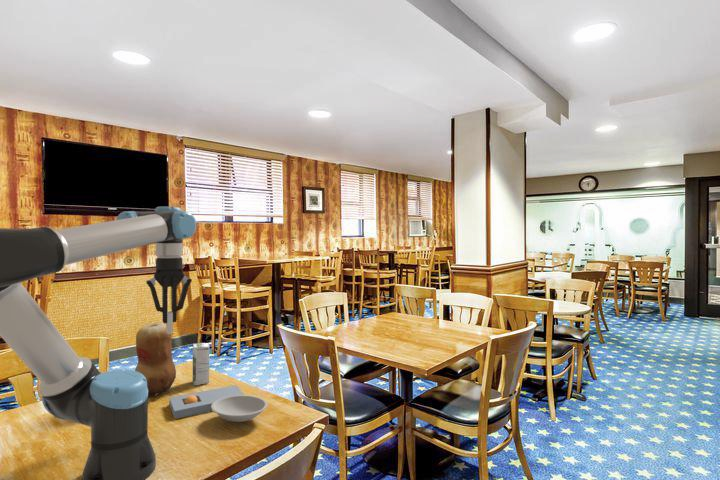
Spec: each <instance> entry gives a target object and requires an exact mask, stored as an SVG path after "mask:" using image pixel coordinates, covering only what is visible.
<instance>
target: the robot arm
mask: <svg viewBox="0 0 720 480" xmlns="http://www.w3.org/2000/svg"><path fill="white" fill-rule="evenodd" d="M196 221H197V220H196V218H195V216H194V215H193V214H192V213H190V212H189V211H185V210H184V211H183V210H182V209H181V208H180V207H178V206H157V207H155V210H154V211H135V210H131V211H129V210H128V211H125V210H124V211H122V212H120V213H119V214H118V215H117V217H116V220H110V221H103V222H97V223H91V224H87V225H86V224H85V225H79V226H78V225H77V226H72V227H66V228H65V227H64V228H60V229H53V228H52V227H50V226H40V227H34V228H2V227H1V228H0V338H2V340H3V341H4V342H5V343H6V344H7V346H8V347H10V349H12V351H13V352H14V353H15V354H16V355H17V357H18V358H19V359H20V360H21V361H22V362H23V363H24V365H25V366H26V367H27V368H28V369H29V370H30V371H31V373H32V374H34V376H35V377H36V378H37V379H38V380H39V382H40V384H39V386H38V393H39V394H40V395H41V401H42V405H43V408H44V409H45V410H46V411H47V412H48V413H49V414H50V415H52V416H53V417H54V418H57V419H60V420H65V421H70V422H73V423H76V424H80V425H84V426H88V427H90V442H91V443H90V450H89V453H88V456H87V459H86V461H85V465H84V468H83V470H82V477H81V479H82V480H146V479H147V478H149V477H150V475H152V473H153V472H154V471H155V469H156V465H157V462H156V461H157V460H156V458H157V457H156V453H155V450H154V448H153V446H152V442H151V440H150V438H149V435H148V431H149V430H148V426H149V425H148V423H149V422H148V420H149V419H148V418H149V417H148V414H149V413H148V412H149V411H148V410H149V408H148V407H149V401H148V400H149V395H148V388H147V380H146V378H145V376H144V375H143V374H141V373H139V372H137V371H135V370H133V369H124V370H122V369H114V370H108V371H105V372H100V370H99V369H98V368H97V366H96V365H95V364H94V362H93V361H92V360H91V359H90V358H89V357H86V356H78V355H77V353H76V352H75V351H74V349H73V348H72V346H71V345H70V344H69V342H68V341H67V340H66V338H64V337H63V335H62V333H61V332H60V331H59V330H58V328H57V327H56V325H54V324H53V322H52V321H51V320H50V318H49V317H48V316H47V315H46V313H45V312H44V311H43V309H42V308H41V307H40V305H39V304H38V303H37V301H36V300H35V299H34V298H33V296H32V295H31V293H30V292H29V291H28V290H27V289H26V287H25V286H24V285H23V282H26V281H30V280H34V279H36V278H41V277H44V276H48V275H51V274H55V273H59V272H61V271H63V269H64V268H65V266H68V265H71V264H75V263H76V264H77V263H79V262H83V261H88V260H92V259H96V258H99V257H103V256H108V255H112V254H116V253H120V252H125V251H128V250H133V249H136V248H141V247H144V246H145V247H146V246H149V245H153V244H155V256H156V258H155V271H154V272H155V273H154V274H153V277H152V278H150V279H147V280H146V281H145V282H146V285H148V287H149V289H150V293H151V297H152V299H153V303H154V308H155V310H156V311H157V312H159V313H162V323H164V324H166V332H167V334H171V335H173V334H174V328H173V327H174V323H176V322H177V317H178V316H177V313H178V311H180V310H183V309H184V305H185V302H186V296H187V293H188V289H189V286H190V284H191V283H192V281H193V280H192V279H191V278H189V277H188V276H185V273H184V270H183V265H184V264H183V261H184V260H183V258H182V256H183V240H184V239H185V240H186V239H189V238H191V237H193V236H194V234H195V233H196V230H197V222H196ZM156 282H157V283H158V285H160V286H161V290H162V291H161V302H162V303H161V304H160V300H159V297H158V293H157V289H156V287H155V286H156ZM181 282H182V283H183V284H182V288H181V292H180V295H179V300H178V302H177V299H178V293H177V292H178V291H177V290H178V286H179V284H180V283H181ZM169 288H171V292H170V293H171V294H170V295H171V297H170V299H171V300H170V301H171V302H170V303H171V306H170V307H171V311H170V310H169V311H168V308H169V307H168V306H169V305H168V302H169V301H168V294H169V293H168V292H169V291H168V289H169ZM177 303H178V304H177Z"/></svg>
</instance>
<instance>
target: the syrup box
mask: <svg viewBox="0 0 720 480" xmlns="http://www.w3.org/2000/svg"><path fill="white" fill-rule="evenodd" d="M205 383H210V344H209V343H207V342H200V343H193V344H192V386H193V387H195V386H194V385H196V386H200V385H199V384H203V385H206V384H205Z"/></svg>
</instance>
